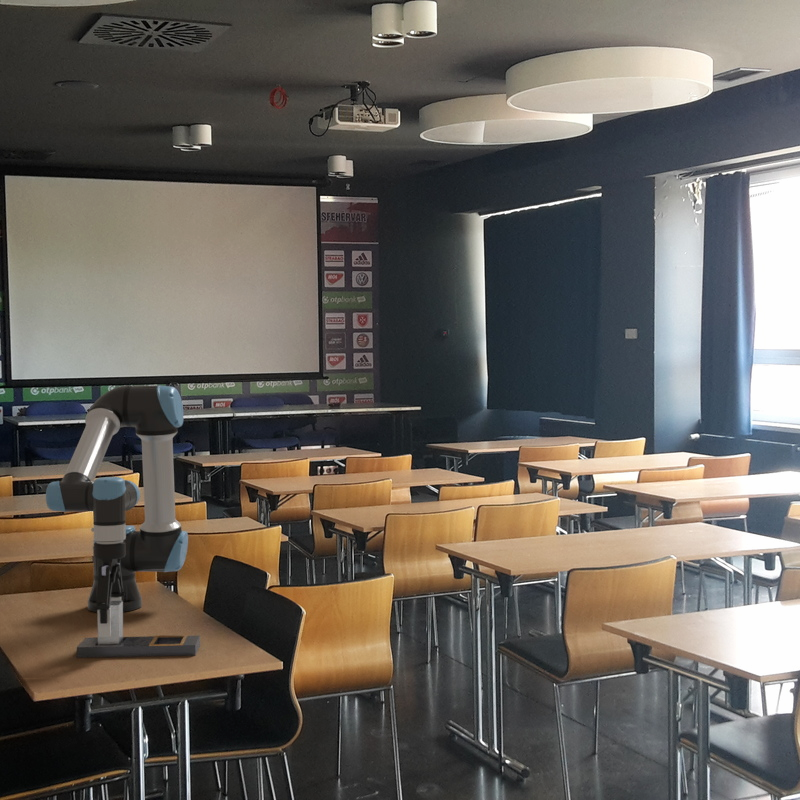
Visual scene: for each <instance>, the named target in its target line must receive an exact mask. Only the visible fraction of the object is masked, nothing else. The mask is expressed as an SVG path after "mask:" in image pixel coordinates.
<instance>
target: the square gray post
mask: <svg viewBox="0 0 800 800" xmlns="http://www.w3.org/2000/svg"><path fill="white" fill-rule="evenodd" d="M102 604H105V603H102ZM109 609H111V636H110V637H99V624H98V623H97V637H98V645H121V644H122V643H123V637H124V612H123V601H110V608H109Z"/></svg>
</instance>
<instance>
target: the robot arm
mask: <svg viewBox="0 0 800 800" xmlns="http://www.w3.org/2000/svg"><path fill="white" fill-rule="evenodd" d="M184 415H185V414H184V406H183V401H182V398H181V395H180V393H179V391H178V389H177V388H175V387H174V386H169V385H161V384H160V385H159V384H158V385H121V386H117V387H116V386H115V387H114V388H112V389H109V390H108V391H106V392H105V393H104V394H102V395H101V396H100V397H98V398H97V400H96V401H95V402H93V404H92V405H91V407H90V408H89V409H88V411H87V414H86V416H85V419H84V420H85V421H84V423H85V428H84V430H83V432H82V434H81V437H80V439H79V441H78V443H77V446H76V447H75V450H74V451H73V454H72V457H71V459H70V461H69V463H68V465H67V468H66V471H65V473H64V475H63V476H62V479H61V480H60V481H59V480H57V481H51V482H50V483H49V484H48V485H47V486H46V489H45V490H46V492H45V502H46V506H47V508H48V509H49V510H50V511H52V512H62V513H63V512H64V513H66V512H68V513H69V512H71V513H72V512H74V513H75V512H80V513H81V512H93V527H91V529H90V531H91V532H92V533H93V546H92V552H93V554H92V555H93V584H92V586H91V590H90V593H89V596H88V599H87V610H88V611H89V612H92V613H97V625H98V624H99V637H110V636H111V609H109V608H110V601H123V613H125V611H126V612H131V611H135V610H137V609H140V608H141V607H143V606H142V605H143V603H142V602H143V601H142V595H141V592H140V590H139V587H138V584H137V581H136V572H140V573H141V572H145V573H146V572H149V573H150V572H154V573H155V572H160V573H162V572H163V573H167V572H178V571H180V570H181V569H182V568H183V566H184V563H185V562H186V557H187V553H188V546H189V536H188V531H186V530H182V524H181V522H180V521H178V520H177V519H176V500H175V499H176V497H175V495H176V494H175V471H174V469H175V468H174V446H173V445H174V443H173V438H174V437H175V436H176V435H177V434H178V430H179V429H178V428H180V427H182V426H183V424H184ZM124 427H126V428H127V427H129V428H135V435H136V436H137V437H138V438H140V440H141V453H142V454H141V455H142V456H141V457H142V479H143V483H142V484H143V502H144V503H143V504H144V522H143V523H142V524H141V525H140V526H139V530H136V527H135V525H126V524H127V523H126V512H127V511H131V510H132V509H133V508H134V507H135V506H136V505H137V504H138V503H139V501H140V497H141V493H140V492H141V491H140V489H139V486H138V485H137V484H136V483H135V482H133V481H131V480H128V479H127V480H126V479H124V478H123V477H120V476H105V477H104V476H103V477H97V478H96V476H97V474H98V472H99V469H100V467H101V465H102V462H103V461H104V457H105V455H106V453H107V450H108V447H109V445H110V443H111V440H112V438H113V436H114V435H116V434H118V432H119V430H120V428H124ZM102 603H105V604H102Z"/></svg>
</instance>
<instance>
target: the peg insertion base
mask: <svg viewBox="0 0 800 800" xmlns="http://www.w3.org/2000/svg"><path fill="white" fill-rule="evenodd" d="M200 647H201V635H200V634H199V635H188V634H169V635H168V634H166V635H162V634H161V635H157V634H156V635H152V636H123V643H122V644H121V645H98V636H97V637H96V636H95V637H92V636H91V637H85V638H84V639H83V640H82V641H81V642H80V643H79V644H78V645H77V646H76V659H77V658H78V659H80V658H81V659H82V658H84V659H85V658H87V659H89V658H128V657H131V658H133V657H177V656H178V657H179V656H180V657H181V656H196V655H197V653H198V651H199V648H200Z"/></svg>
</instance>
